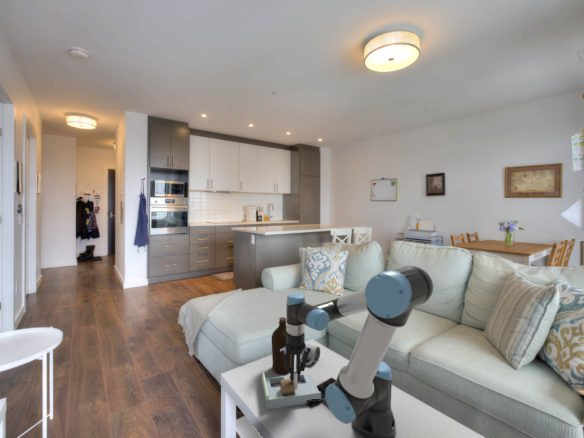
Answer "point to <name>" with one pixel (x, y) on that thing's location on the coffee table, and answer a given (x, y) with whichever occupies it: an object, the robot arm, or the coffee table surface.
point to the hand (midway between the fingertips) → (294, 387)
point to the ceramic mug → (312, 354)
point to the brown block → (287, 387)
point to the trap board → (302, 394)
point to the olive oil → (278, 343)
